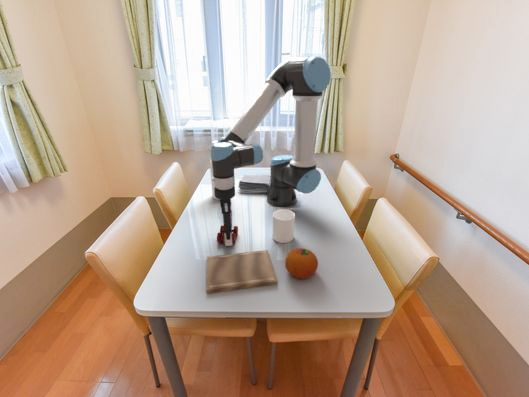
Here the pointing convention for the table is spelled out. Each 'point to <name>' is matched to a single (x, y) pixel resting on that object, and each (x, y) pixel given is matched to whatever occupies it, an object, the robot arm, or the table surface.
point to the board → (239, 271)
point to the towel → (255, 183)
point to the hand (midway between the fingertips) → (227, 235)
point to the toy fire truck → (221, 234)
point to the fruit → (301, 263)
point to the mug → (283, 226)
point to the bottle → (212, 174)
